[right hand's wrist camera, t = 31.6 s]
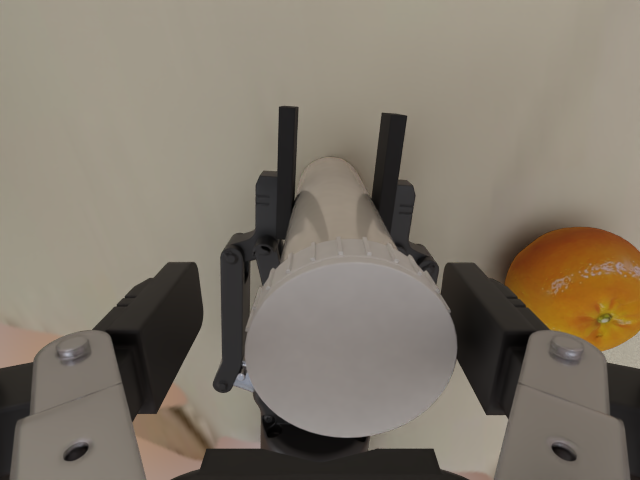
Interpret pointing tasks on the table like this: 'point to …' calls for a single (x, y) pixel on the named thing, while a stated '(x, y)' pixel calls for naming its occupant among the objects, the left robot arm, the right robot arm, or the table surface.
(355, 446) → the left robot arm
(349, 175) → the beige plastic cylinder
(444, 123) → the table surface
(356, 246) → the lid
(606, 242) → the fruit
